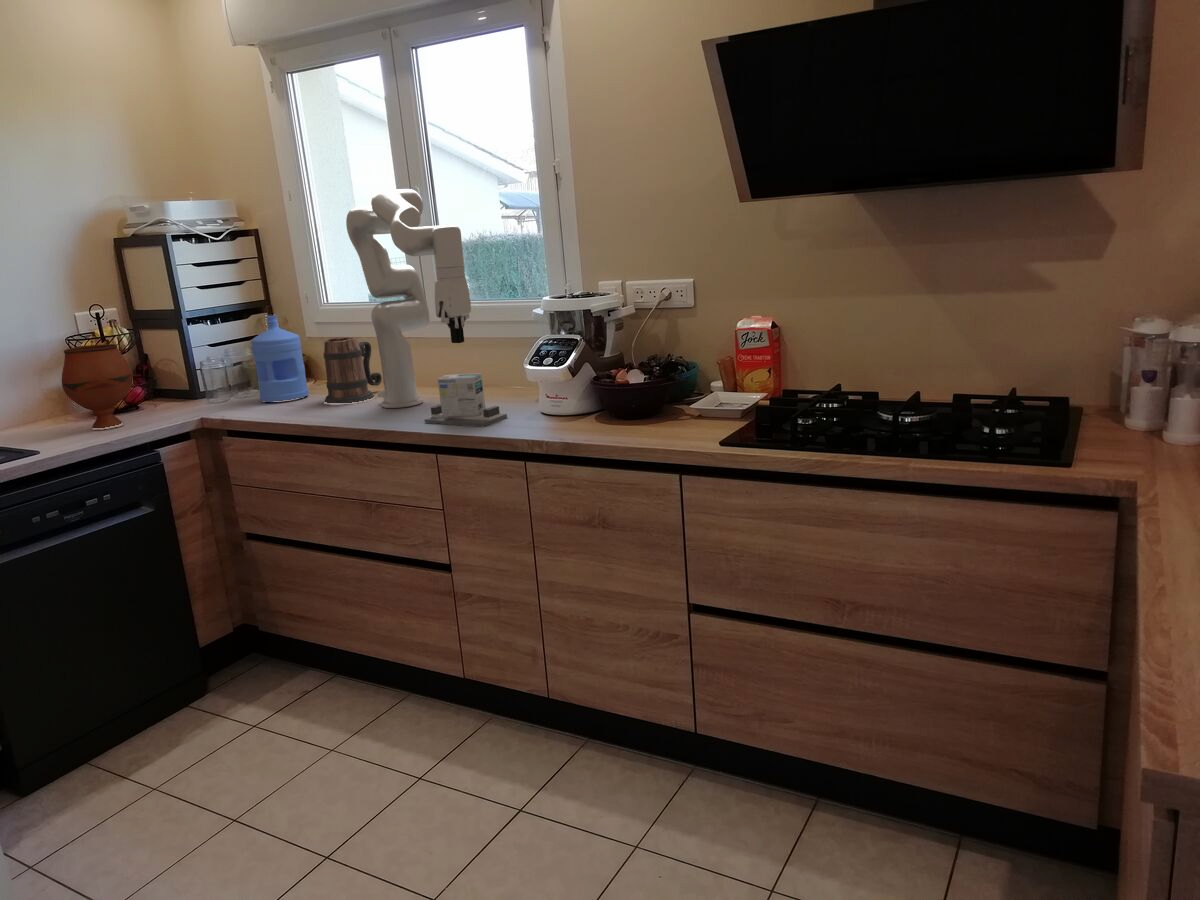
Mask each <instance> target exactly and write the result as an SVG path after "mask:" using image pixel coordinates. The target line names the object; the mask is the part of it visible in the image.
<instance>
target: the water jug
mask: <svg viewBox="0 0 1200 900" xmlns="http://www.w3.org/2000/svg"><path fill="white" fill-rule="evenodd" d="M266 319H267V322H266V323H267V326H268V328H267V329H266V330H265V331H263V332H261V333H260V334H258V335H257V336H255V337H254V338H252V339H251V340H250V344H251V345H250V347H251V351H252V352H251V353H252V355H253V356H252V357H253V360H254V364H255V370H256V376H257V386H258V390H259V400H260V401H261V402H262V401H265V402H273V401H283V400H291V399H296V398H301V397H305V396H307V395H308V394H310V392H309V388H308V384H307V383H308V382H307V377H306V368H305V363H304V358H303V350H302V342H301V339H300V335H299V334H297V333H294V332H291V331H289V330H286V329H283V328H280V327H279V323H278V322H279V321H278V318H277V315H267V316H266ZM308 396H309V395H308ZM308 396H307V397H308Z"/></svg>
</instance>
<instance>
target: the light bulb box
mask: <svg viewBox="0 0 1200 900" xmlns="http://www.w3.org/2000/svg"><path fill="white" fill-rule="evenodd" d="M482 375H483V374H482V373H481V372H479V373H459V374H445V375H443V376H441V377H438V378H437V386H438V390H439V393H438V394H439V400H440V404H441V409H442V417H451V416H478V415H480V414H481V413H483V410H484V409H486V402H485V393H484V384H483V376H482Z"/></svg>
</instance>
